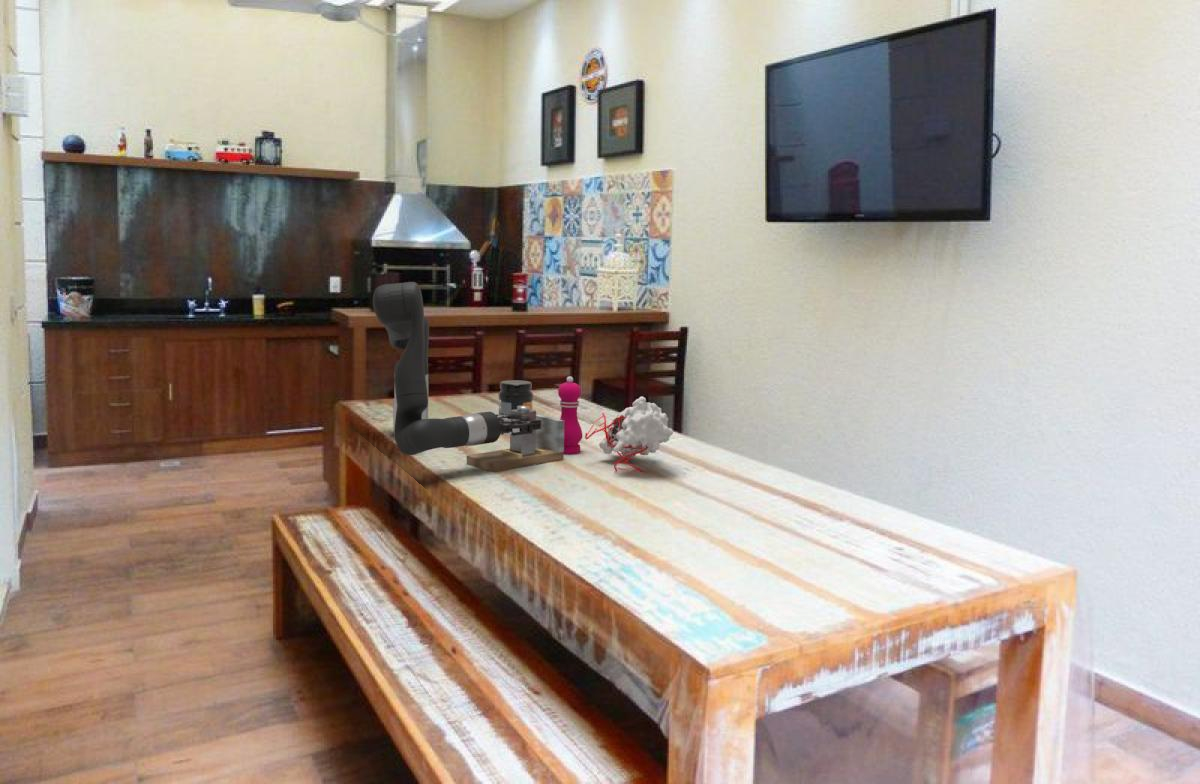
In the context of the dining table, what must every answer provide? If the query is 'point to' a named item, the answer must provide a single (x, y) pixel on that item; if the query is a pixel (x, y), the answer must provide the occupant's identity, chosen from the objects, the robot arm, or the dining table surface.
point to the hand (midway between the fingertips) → (529, 421)
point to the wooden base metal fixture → (546, 451)
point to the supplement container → (514, 396)
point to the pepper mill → (570, 415)
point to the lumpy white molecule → (635, 431)
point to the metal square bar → (526, 441)
